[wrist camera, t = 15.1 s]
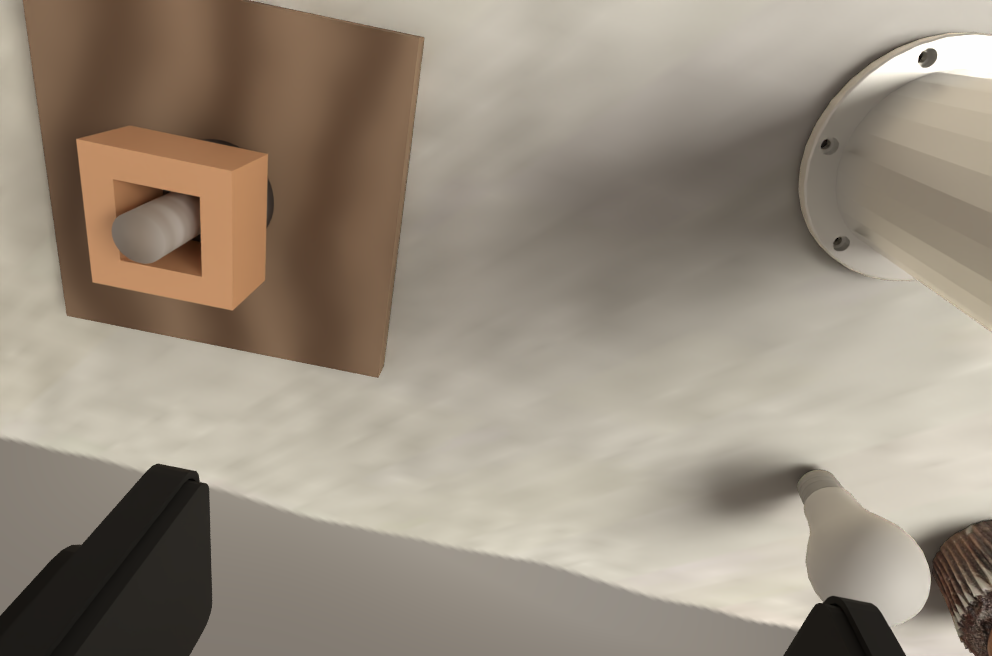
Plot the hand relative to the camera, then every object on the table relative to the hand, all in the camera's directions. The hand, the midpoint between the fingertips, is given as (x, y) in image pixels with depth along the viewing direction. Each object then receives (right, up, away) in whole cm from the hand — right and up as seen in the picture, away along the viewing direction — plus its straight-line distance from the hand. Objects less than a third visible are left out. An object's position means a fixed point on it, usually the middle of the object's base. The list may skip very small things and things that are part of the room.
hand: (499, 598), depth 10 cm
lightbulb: (+22, -6, +33) cm, 40 cm away
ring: (-16, +11, +23) cm, 30 cm away
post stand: (-15, +12, +27) cm, 33 cm away
